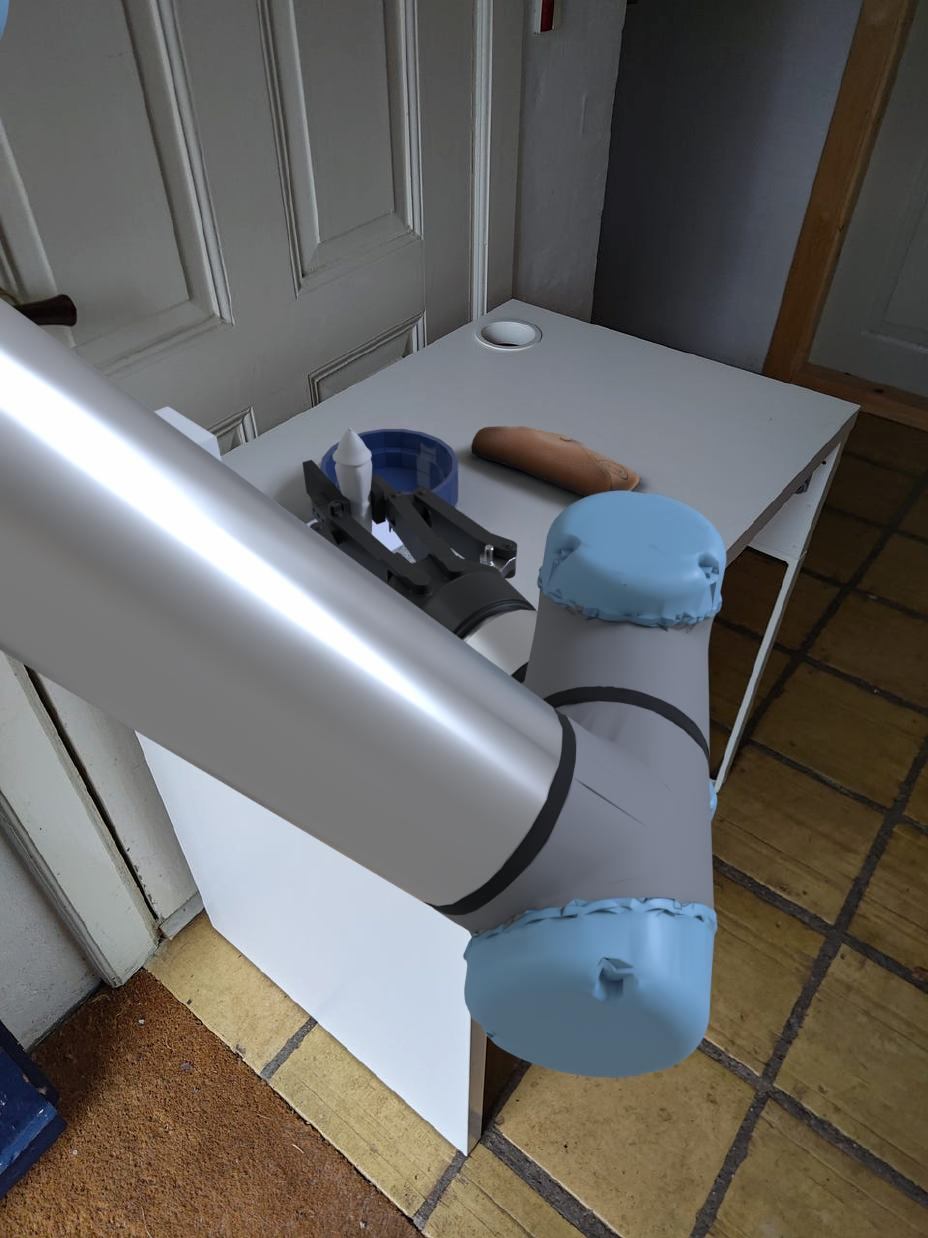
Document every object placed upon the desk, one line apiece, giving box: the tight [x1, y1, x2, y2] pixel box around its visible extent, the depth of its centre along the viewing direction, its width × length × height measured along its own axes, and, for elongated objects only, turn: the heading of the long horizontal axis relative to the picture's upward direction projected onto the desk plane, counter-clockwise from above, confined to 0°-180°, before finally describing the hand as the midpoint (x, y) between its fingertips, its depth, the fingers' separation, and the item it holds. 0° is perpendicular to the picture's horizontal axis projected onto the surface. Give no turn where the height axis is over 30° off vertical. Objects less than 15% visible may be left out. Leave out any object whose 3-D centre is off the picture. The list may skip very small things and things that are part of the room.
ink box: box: [153, 406, 223, 463], centre depth 84 cm, size 8×5×12 cm, turn 46°
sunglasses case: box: [470, 425, 642, 498], centre depth 95 cm, size 18×7×7 cm
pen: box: [333, 427, 372, 534], centre depth 63 cm, size 2×3×14 cm
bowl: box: [319, 428, 459, 523], centre depth 91 cm, size 14×14×4 cm
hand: (325, 471), depth 66 cm, fingers closed on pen, 2 cm apart
